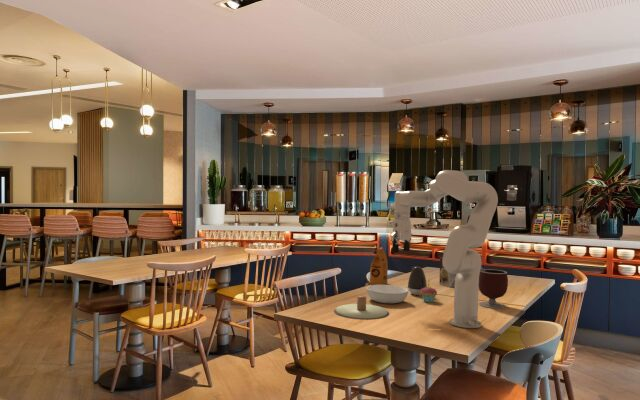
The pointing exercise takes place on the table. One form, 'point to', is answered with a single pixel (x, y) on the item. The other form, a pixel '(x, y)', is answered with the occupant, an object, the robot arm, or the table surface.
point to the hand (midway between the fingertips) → (401, 251)
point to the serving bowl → (387, 293)
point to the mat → (362, 319)
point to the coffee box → (446, 276)
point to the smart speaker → (416, 281)
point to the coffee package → (379, 268)
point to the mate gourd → (492, 286)
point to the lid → (361, 310)
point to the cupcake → (428, 293)
